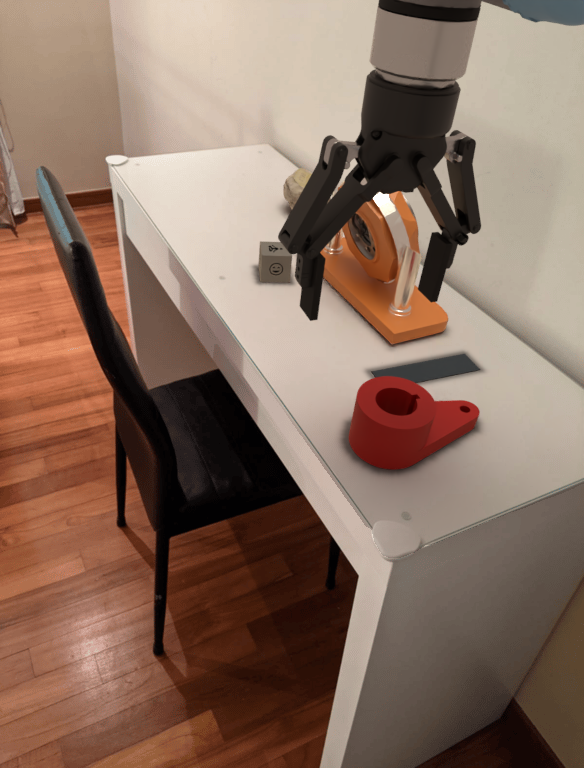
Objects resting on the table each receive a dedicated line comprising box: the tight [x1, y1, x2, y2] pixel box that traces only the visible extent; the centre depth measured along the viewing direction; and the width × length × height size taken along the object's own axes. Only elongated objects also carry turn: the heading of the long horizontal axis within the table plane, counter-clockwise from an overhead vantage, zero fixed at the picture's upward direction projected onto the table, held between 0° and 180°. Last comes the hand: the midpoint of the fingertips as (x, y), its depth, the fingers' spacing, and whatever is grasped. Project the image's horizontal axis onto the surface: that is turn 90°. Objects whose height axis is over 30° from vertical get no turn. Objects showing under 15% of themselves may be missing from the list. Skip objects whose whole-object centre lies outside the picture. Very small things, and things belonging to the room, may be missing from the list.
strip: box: [370, 353, 481, 384], centre depth 88 cm, size 4×16×1 cm, turn 112°
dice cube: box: [257, 241, 293, 284], centre depth 104 cm, size 5×5×5 cm
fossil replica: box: [282, 167, 332, 210], centre depth 125 cm, size 12×8×10 cm
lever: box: [348, 376, 481, 471], centre depth 75 cm, size 18×9×7 cm, turn 113°
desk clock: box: [320, 178, 449, 345], centre depth 98 cm, size 12×30×20 cm, turn 27°
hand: (369, 304), depth 62 cm, fingers open, 13 cm apart
